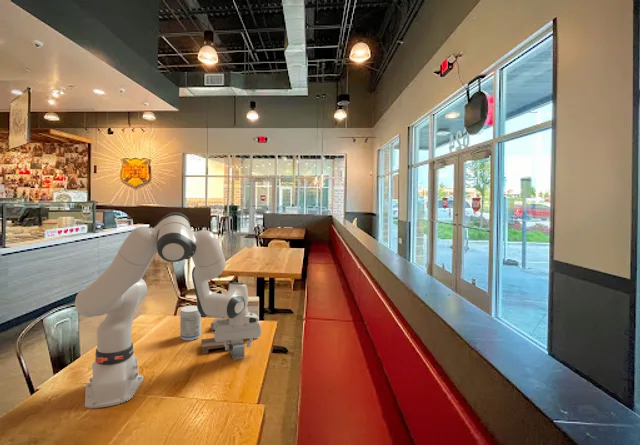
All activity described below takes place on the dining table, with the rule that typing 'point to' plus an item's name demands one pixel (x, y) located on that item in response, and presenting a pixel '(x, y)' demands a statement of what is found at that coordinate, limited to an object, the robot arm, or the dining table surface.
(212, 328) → the brick
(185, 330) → the supplement tub
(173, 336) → the dining table surface
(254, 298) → the coffeecake box
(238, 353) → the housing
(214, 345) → the stand
